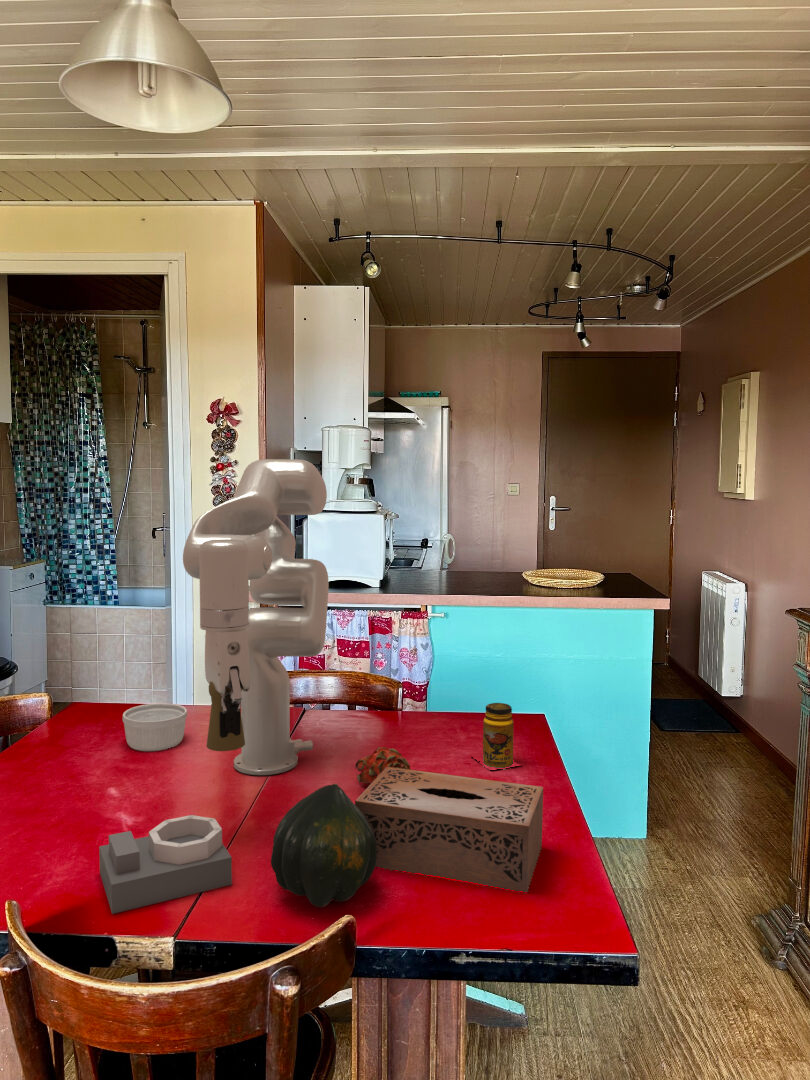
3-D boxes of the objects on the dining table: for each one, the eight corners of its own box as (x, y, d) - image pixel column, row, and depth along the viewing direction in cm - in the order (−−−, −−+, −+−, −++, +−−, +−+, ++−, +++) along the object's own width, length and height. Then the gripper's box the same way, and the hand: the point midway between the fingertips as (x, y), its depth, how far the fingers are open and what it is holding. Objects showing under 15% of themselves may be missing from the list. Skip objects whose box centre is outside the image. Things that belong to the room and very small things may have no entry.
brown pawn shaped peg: (235, 752, 121) (235, 683, 120) (199, 749, 122) (198, 680, 121) (251, 739, 127) (250, 673, 126) (216, 736, 128) (215, 671, 127)
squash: (265, 892, 98) (340, 792, 101) (241, 844, 112) (307, 758, 115) (346, 945, 103) (415, 848, 106) (313, 894, 116) (375, 809, 120)
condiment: (490, 772, 153) (491, 712, 152) (470, 757, 161) (471, 700, 160) (522, 767, 156) (524, 708, 155) (501, 753, 164) (502, 697, 163)
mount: (209, 848, 120) (209, 808, 120) (231, 884, 110) (231, 840, 109) (99, 872, 113) (98, 829, 112) (112, 913, 102) (111, 866, 102)
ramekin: (200, 740, 170) (200, 709, 169) (151, 758, 159) (150, 725, 158) (159, 729, 177) (158, 699, 176) (109, 746, 166) (109, 714, 165)
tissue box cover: (354, 865, 116) (355, 800, 115) (386, 824, 130) (387, 766, 129) (527, 895, 108) (528, 826, 108) (541, 848, 122) (543, 786, 121)
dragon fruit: (411, 808, 139) (358, 802, 146) (428, 769, 145) (377, 764, 152) (390, 779, 135) (337, 774, 142) (409, 739, 141) (357, 736, 148)
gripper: (264, 625, 117) (265, 743, 119) (232, 608, 132) (233, 713, 133) (215, 629, 113) (216, 751, 115) (188, 611, 128) (189, 720, 130)
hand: (225, 730), depth 124 cm, fingers closed on brown pawn shaped peg, 4 cm apart
